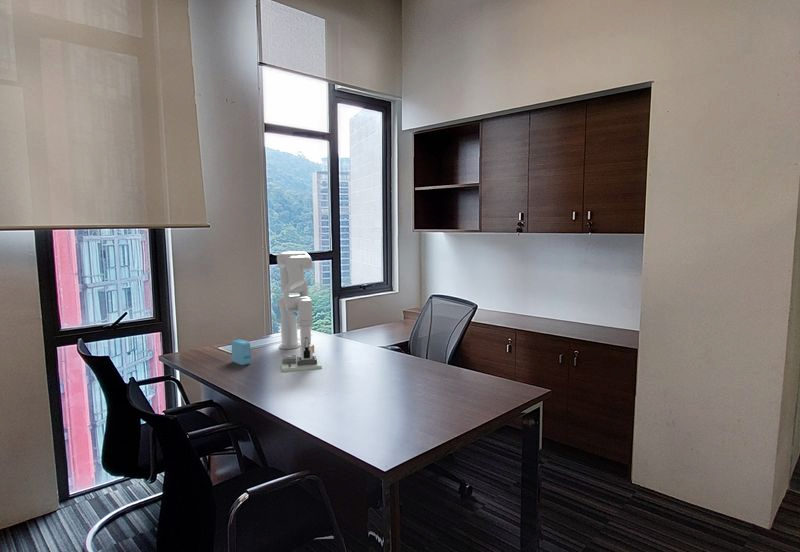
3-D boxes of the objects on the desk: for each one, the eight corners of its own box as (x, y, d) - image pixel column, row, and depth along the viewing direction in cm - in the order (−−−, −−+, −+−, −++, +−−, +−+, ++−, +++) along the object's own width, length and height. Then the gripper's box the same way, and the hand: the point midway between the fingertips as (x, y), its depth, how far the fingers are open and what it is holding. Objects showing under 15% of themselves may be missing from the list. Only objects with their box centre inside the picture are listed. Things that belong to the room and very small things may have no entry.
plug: (300, 360, 253) (300, 345, 252) (314, 358, 255) (313, 344, 254) (301, 362, 249) (300, 347, 248) (314, 360, 251) (314, 346, 250)
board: (281, 363, 257) (281, 354, 257) (319, 360, 262) (318, 351, 262) (281, 371, 242) (281, 362, 242) (321, 368, 247) (321, 359, 246)
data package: (251, 364, 257) (250, 342, 256) (243, 365, 254) (242, 343, 252) (239, 360, 265) (238, 338, 264) (232, 361, 262) (231, 340, 260)
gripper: (297, 320, 257) (298, 353, 259) (298, 326, 241) (300, 361, 243) (311, 319, 258) (312, 352, 260) (313, 325, 242) (315, 360, 244)
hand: (306, 356), depth 251 cm, fingers closed on plug, 3 cm apart
